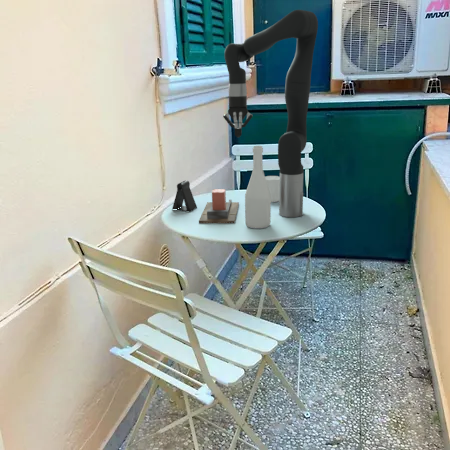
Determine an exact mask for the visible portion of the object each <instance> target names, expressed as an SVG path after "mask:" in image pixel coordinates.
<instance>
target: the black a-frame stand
mask: <svg viewBox="0 0 450 450" xmlns="http://www.w3.org/2000/svg"><path fill="white" fill-rule="evenodd" d="M194 198H195V197H194V195H193V192H192V190H191V186H190V181H189V180H183V181H181V182H179V183H177V185H176V194H175V198H174V202H173V205H172V209H177V210H182V211H181V212H186V211H189V212H188V213H191V212H193V211H194V210H196V209H197V208H198V205H197V204H196V201H195V199H194ZM183 203H184V204H185V205H183ZM180 207H181V208H180ZM178 208H179V209H178ZM177 210H176V211H177Z"/></svg>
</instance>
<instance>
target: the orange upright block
mask: <svg viewBox="0 0 450 450" xmlns="http://www.w3.org/2000/svg"><path fill="white" fill-rule="evenodd" d="M226 195H227V194H226V189H225V188H218V189H217V188H215V189H212V190H211V202H212V209H213V210H226V202H227V197H226Z"/></svg>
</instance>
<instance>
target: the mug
mask: <svg viewBox="0 0 450 450" xmlns="http://www.w3.org/2000/svg"><path fill="white" fill-rule="evenodd" d="M265 179H266V182H267V185H268V188H269V191H270V194H271V203H278V202H279V192H280V176H278V175H267V176H265Z"/></svg>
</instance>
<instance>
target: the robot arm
mask: <svg viewBox="0 0 450 450" xmlns="http://www.w3.org/2000/svg"><path fill="white" fill-rule="evenodd" d="M318 28H319V21H318V18H317V15H316V13H314V12H312V11H309V10H303V9H294V10H292V11H290V12H289V13H288V14H286V15H284V16H283V17H282V18H280V19H279V20H278V21H277V22H275V23H274V24H273V25H271V26H269V27H267V28H266V29H263V30H262V31H260V32H257V33H255V34H252V35H251V36H249V37H247V38H246V39H244V42H243V43H233V42H232V43H229V44H227V46H226V47H225V50H224V60H225V65H226V68H227V72H228V110H227V112H226V113H225V114H224V115H223V117H222V118H223V119H224V120H225V121H226V122H227V124H228V125H229V127H231V128H233V129H234V136H235V137H236V138H240V137H241V136H242V134H243V133H242V130H243V129H242V128H245V127H246V126H247V124H249V122H251V120H252V118H253V114H251V113H250V112H249V110H248V95H247V94H248V92H247V91H248V90H247V89H248V88H247V73H246V72H247V71H246V70H245V69H244V68H241V65H240V63H244V62H247V61H249V60H251V59H252V58H253V57H254V56H257V55H258V54H261V53H265V51H268V50H269V49H271V48H272V47H273V46H274V45H275V44H276V43H278V42H280V41H283V40H287V39H292V38H293V39H296V47H295V53H294V58H293V60H292V62H291V64H290V67H289V69H288V71H287V72H286V77H285V88H284V100H285V106H286V110H287V111H286V112H287V127H286V132H284V134H282V135H281V136H280V137H279V140H278V143H277V164H278V167H279V177H280V192H279V201H278V202H279V203H278V205H279V206H278V210H279V211H278V215H280V216H281V217H285V218H297V217H303V210H304V207H303V206H304V165H303V164H302V152H303V151H304V150H305V149H306V146H307V139H308V138H307V116H308V110H309V109H308V108H309V103H310V102H309V101H310V92H311V81H312V80H311V79H312V78H311V77H312V68H313V59H314V53H315V52H314V51H315V46H316V41H317V35H318ZM245 117H246V120H245V121H244V123H243V120H244V119H245ZM230 118H231V119H232V120H233V122H232V121H231V120H230Z"/></svg>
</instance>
